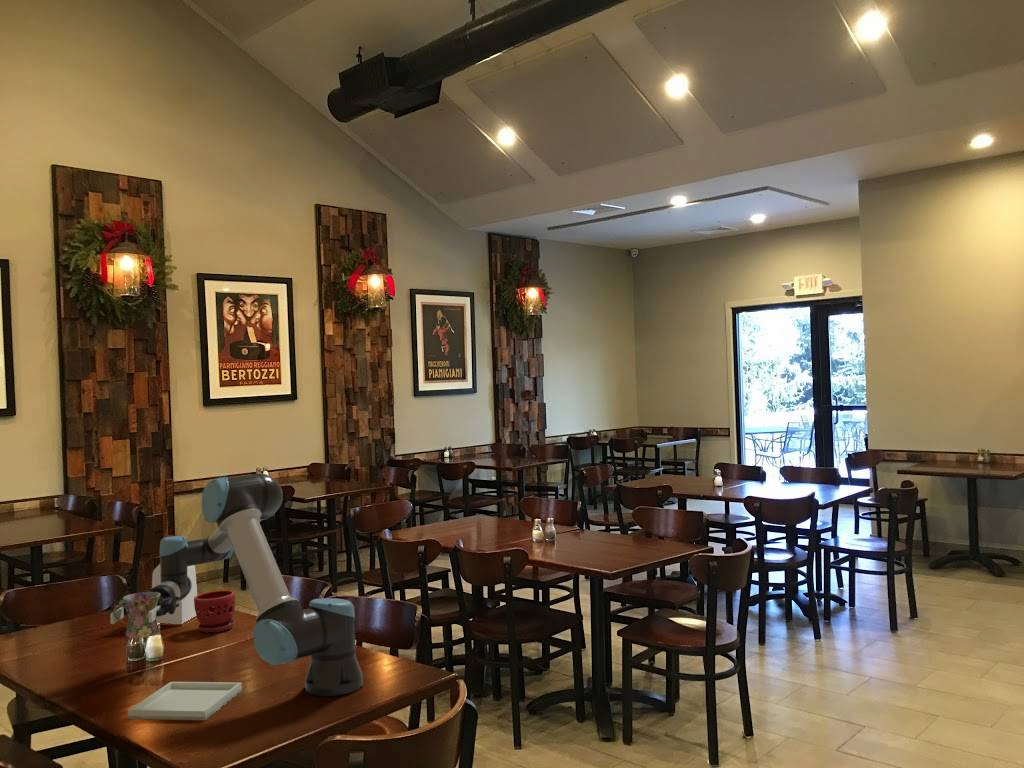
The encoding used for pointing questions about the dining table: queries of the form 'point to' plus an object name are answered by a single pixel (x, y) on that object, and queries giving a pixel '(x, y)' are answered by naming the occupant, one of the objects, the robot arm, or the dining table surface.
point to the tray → (185, 701)
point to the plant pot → (215, 610)
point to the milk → (185, 605)
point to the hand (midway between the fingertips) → (131, 618)
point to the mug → (140, 614)
